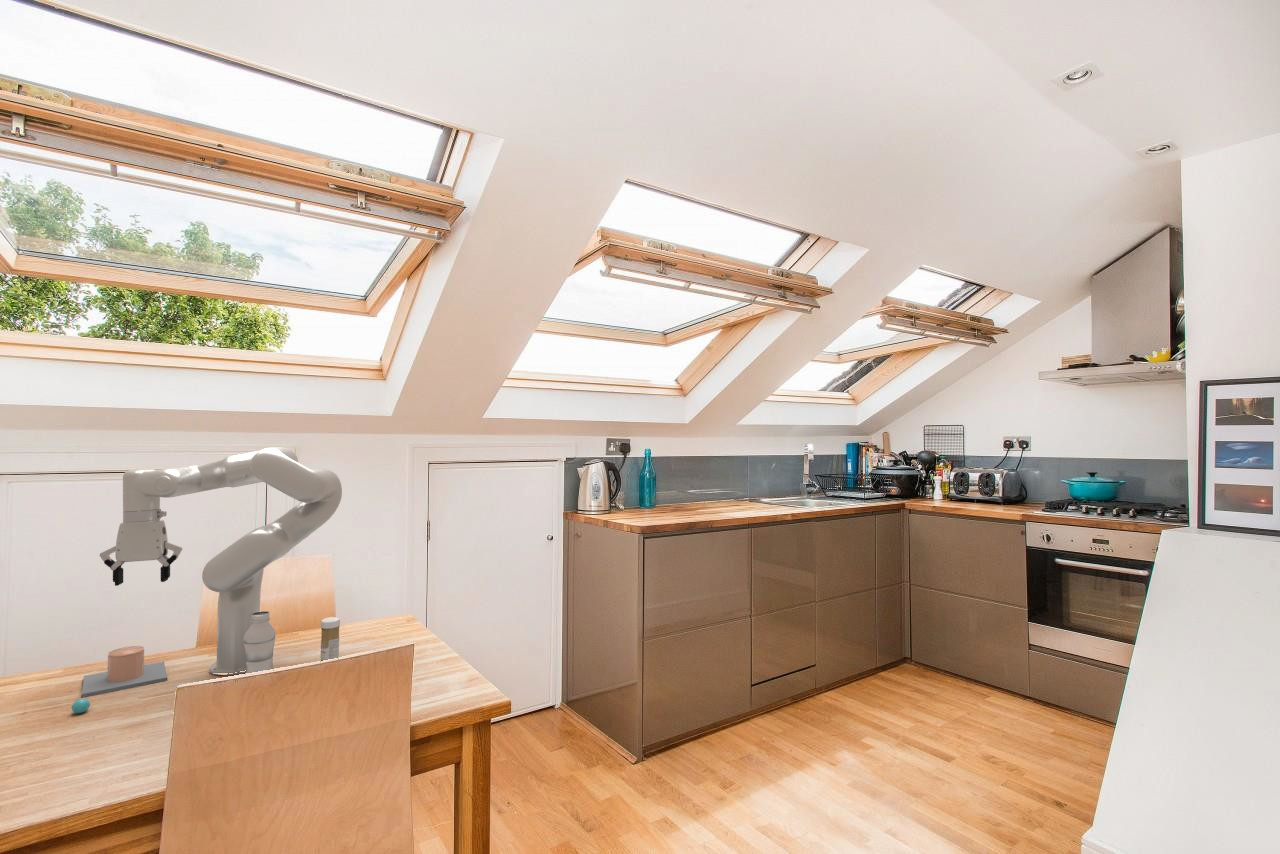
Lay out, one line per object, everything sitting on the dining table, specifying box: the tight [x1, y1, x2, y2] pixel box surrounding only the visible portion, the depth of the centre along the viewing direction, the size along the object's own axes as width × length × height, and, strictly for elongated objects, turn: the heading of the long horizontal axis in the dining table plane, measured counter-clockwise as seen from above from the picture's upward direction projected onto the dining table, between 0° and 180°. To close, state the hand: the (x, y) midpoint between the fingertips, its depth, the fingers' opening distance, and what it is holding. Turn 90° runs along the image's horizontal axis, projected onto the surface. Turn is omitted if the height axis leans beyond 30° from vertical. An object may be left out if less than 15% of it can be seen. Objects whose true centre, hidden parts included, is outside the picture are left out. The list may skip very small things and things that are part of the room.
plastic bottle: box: [244, 610, 277, 674], centre depth 146 cm, size 6×7×20 cm
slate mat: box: [81, 661, 168, 698], centre depth 155 cm, size 16×14×1 cm
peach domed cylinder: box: [107, 645, 145, 682], centre depth 155 cm, size 7×7×6 cm
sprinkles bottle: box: [320, 616, 341, 662], centre depth 163 cm, size 5×5×13 cm
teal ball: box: [71, 698, 91, 714], centre depth 137 cm, size 3×3×3 cm
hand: (142, 582), depth 160 cm, fingers open, 9 cm apart
